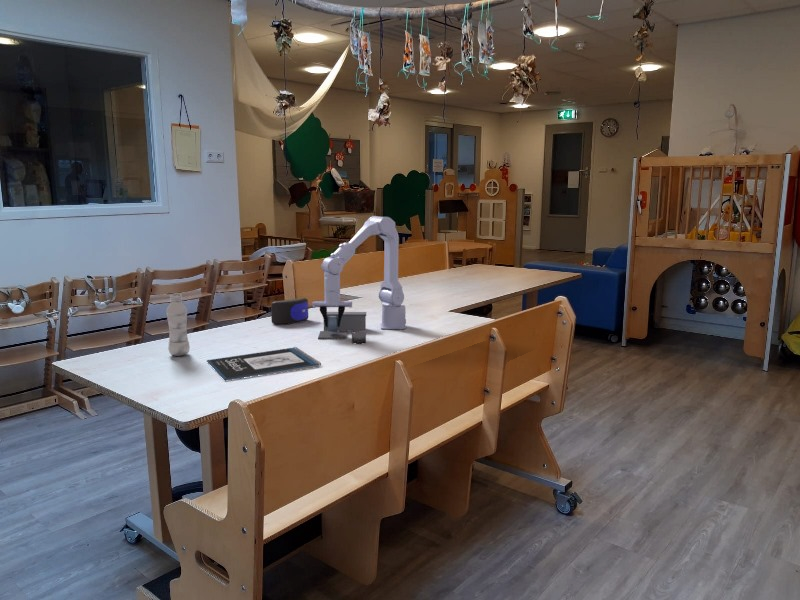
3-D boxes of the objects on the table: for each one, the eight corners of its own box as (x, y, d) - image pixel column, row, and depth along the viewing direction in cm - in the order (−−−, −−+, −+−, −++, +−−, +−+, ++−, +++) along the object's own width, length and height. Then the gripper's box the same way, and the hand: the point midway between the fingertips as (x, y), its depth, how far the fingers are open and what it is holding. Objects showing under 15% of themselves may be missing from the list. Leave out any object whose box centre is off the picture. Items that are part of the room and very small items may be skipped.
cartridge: (339, 329, 226) (339, 316, 225) (335, 331, 222) (335, 318, 221) (330, 328, 227) (329, 315, 226) (325, 330, 223) (325, 317, 222)
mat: (346, 332, 230) (346, 331, 230) (345, 339, 220) (345, 337, 220) (320, 332, 230) (320, 330, 229) (317, 339, 220) (317, 337, 220)
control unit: (366, 328, 237) (366, 311, 236) (366, 331, 232) (366, 314, 231) (323, 328, 237) (323, 311, 235) (322, 331, 232) (322, 314, 230)
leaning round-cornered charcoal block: (275, 326, 238) (275, 303, 237) (270, 324, 242) (270, 301, 240) (312, 321, 248) (312, 299, 246) (307, 319, 251) (306, 297, 250)
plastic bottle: (178, 359, 193) (174, 297, 189) (164, 355, 197) (160, 295, 193) (194, 354, 198) (191, 294, 195) (180, 351, 202) (177, 292, 198)
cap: (366, 340, 219) (366, 329, 218) (365, 344, 214) (365, 333, 213) (352, 340, 219) (352, 329, 218) (351, 344, 214) (351, 333, 213)
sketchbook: (206, 364, 191) (206, 357, 190) (296, 351, 206) (296, 345, 205) (224, 383, 172) (224, 376, 172) (322, 368, 188) (322, 361, 187)
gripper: (352, 288, 226) (352, 323, 229) (313, 288, 225) (313, 324, 228) (352, 291, 219) (352, 328, 222) (311, 291, 218) (312, 328, 221)
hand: (332, 326), depth 224 cm, fingers closed on cartridge, 4 cm apart
